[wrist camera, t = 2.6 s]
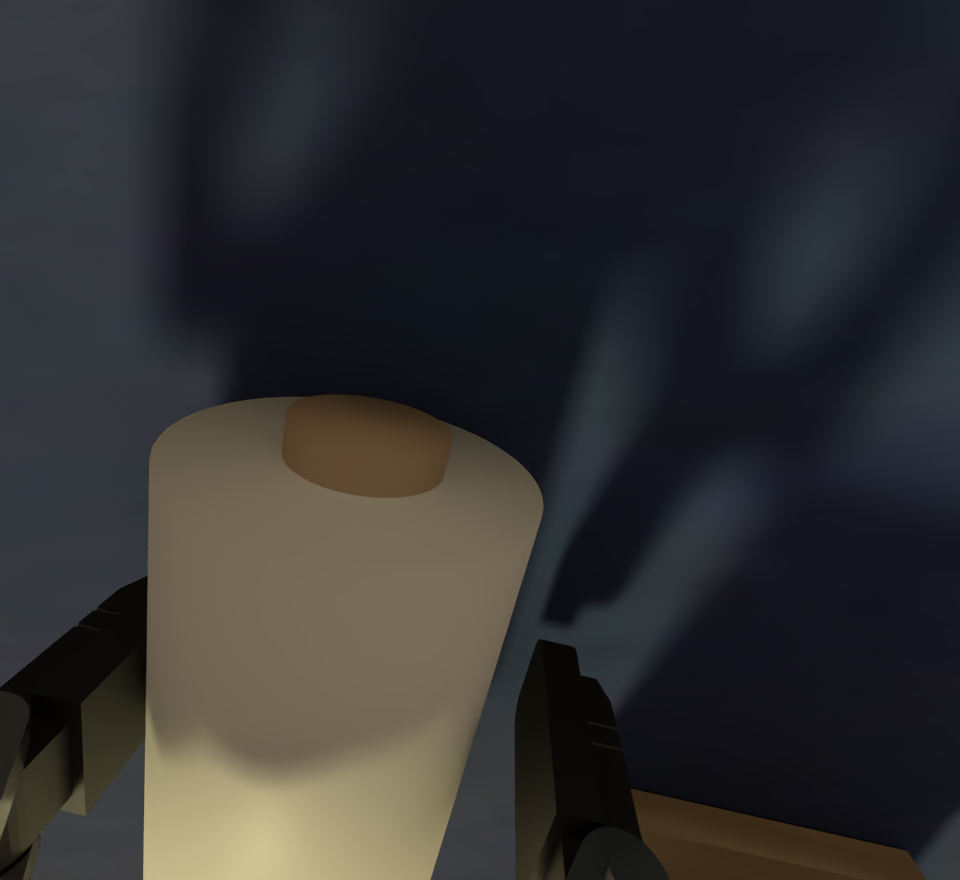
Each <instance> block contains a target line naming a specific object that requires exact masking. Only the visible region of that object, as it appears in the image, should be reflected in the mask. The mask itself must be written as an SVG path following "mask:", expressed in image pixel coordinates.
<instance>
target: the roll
mask: <svg viewBox="0 0 960 880" xmlns="http://www.w3.org/2000/svg"><path fill="white" fill-rule="evenodd" d="M543 508H544V506H543V497H542V494H541V491H540V489H539V486H538V485H537V483H536V481H535V480H534V478H533V477H532V476H531V474H530V473H529V472H528V471H527V470H526V469H525V468H524V467H523V466H522V465H521V464H520V463H519V462H518V461H517V460H515V459H514V458H513V457H512V456H510V455H509V454H507V453H506V452H505V451H503V450H502V449H500V448H499V447H497V446H495V445H494V444H492V443H490V442H488V441H487V440H485V439H483V438H481V437H479V436H477V435H475V434H473V433H470V432H468V431H466V430H464V429H462V428H459V427H456V426H454V425H451V424H449V423H446V422H443V421H440V420H438V419H436V418H435V417H433V416H431V415H429V414H427V413H425V412H422V411H420V410H418V409H415V408H412V407H409V406H406V405H403V404H400V403H396V402H392V401H388V400H383V399H378V398H372V397H365V396H357V395H341V394H331V395H318V396H311V397H274V398H261V399H251V400H244V401H238V402H232V403H227V404H223V405H218V406H214V407H211V408H208V409H205V410H202V411H199V412H196V413H194V414H191V415H189V416H187V417H185V418H183V419H181V420H179V421H178V422H176V423H174V424H173V425H171V426H170V427H168V428H167V429H166V430H165V431H164V432H163V433H162V434H161V435H160V436H159V437H158V439H157V440H156V442H155V444H154V445H153V447H152V450H151V455H150V459H149V523H148V592H147V661H146V730H145V799H144V868H143V880H430V879H431V876H432V872H433V869H434V866H435V863H436V859H437V856H438V853H439V850H440V846H441V843H442V840H443V837H444V833H445V830H446V827H447V824H448V820H449V817H450V814H451V811H452V807H453V804H454V801H455V798H456V794H457V791H458V788H459V785H460V781H461V778H462V775H463V772H464V768H465V765H466V762H467V759H468V755H469V752H470V749H471V746H472V742H473V739H474V736H475V733H476V729H477V726H478V723H479V720H480V716H481V713H482V710H483V707H484V703H485V700H486V697H487V694H488V690H489V687H490V684H491V681H492V677H493V674H494V671H495V668H496V664H497V661H498V658H499V655H500V651H501V648H502V645H503V642H504V638H505V635H506V632H507V629H508V625H509V622H510V619H511V616H512V612H513V609H514V606H515V603H516V599H517V596H518V593H519V590H520V586H521V583H522V580H523V577H524V573H525V570H526V567H527V564H528V560H529V557H530V554H531V551H532V547H533V544H534V541H535V538H536V534H537V531H538V528H539V525H540V521H541V518H542V513H543Z"/></svg>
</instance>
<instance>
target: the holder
mask: <svg viewBox="0 0 960 880" xmlns="http://www.w3.org/2000/svg"><path fill="white" fill-rule="evenodd" d="M631 793H632V797H633V802H634V806H635V810H636V815H637V819H638V824H639V828H640V832H641V836H642V839H643V843H644V844H646V845H647V846H648V847H649V848H650V849H651V851H652V852H653V853H654V854H655V855H656V857H657V858H658V859H659V860H660V862H661V864H662V865H663V867H664V869H665V870H666V873H667V875H668V877H669V879H670V880H926V878H925V877H924V875H923V874H922V872H921V871H920V869H919V868H918V866H917V865H916V863H915V862H914V860H913V859H912V857H911V856H910V854H909V853H908V851H905V850H901V849H897V848H892V847H888V846H883V845H879V844H874V843H870V842H865V841H861V840H857V839H852V838H848V837H843V836H839V835H834V834H830V833H826V832H821V831H817V830H812V829H808V828H803V827H799V826H794V825H790V824H786V823H781V822H777V821H772V820H768V819H763V818H759V817H755V816H750V815H746V814H741V813H737V812H732V811H728V810H723V809H719V808H715V807H710V806H706V805H701V804H697V803H692V802H688V801H684V800H679V799H675V798H670V797H666V796H661V795H657V794H652V793H648V792H644V791H639V790H635V789H631Z"/></svg>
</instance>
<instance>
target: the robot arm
mask: <svg viewBox="0 0 960 880" xmlns="http://www.w3.org/2000/svg"><path fill="white" fill-rule="evenodd" d="M147 592H148V576H146V577H144V578H142V579H140V580H137V581H135V582H133V583H131V584H129V585H126V586H124V587H122V588H120V589H119V590H117V591H116V592H115V593H114V594H113V595H111V596H110V597H109V598H108V599H107V600H105V601H104V602H103V603H102V604H100V605H99V606H98V608H97V610H96V611H92V612H91V613H90V614H88V615H87V616H86V617H85V618H84V619H82V620H81V621H80V622H79V624H78V626H77V627H75V626H74V627H73V628H72V629H70V630H69V631H68V632H67V633H65V634H64V635H63V636H62V637H61V638H59V639H58V640H57V641H56V642H55V643H53V644H52V645H51V646H50V647H49V648H47V649H46V650H45V651H44V652H43V653H41V654H40V655H39V656H38V657H37V658H35V659H34V660H33V661H32V662H30V663H29V664H28V665H27V666H26V667H24V668H23V669H22V670H21V671H20V672H18V673H17V674H16V675H15V676H14V677H12V678H11V679H10V680H9V681H8V682H6V683H5V684H4V685H3V686H2V687H0V880H31V878H32V874H33V870H34V866H35V863H36V859H37V855H38V851H39V847H40V841H41V838H40V833H41V832H42V831H43V829H44V828H45V827H46V826H47V825H48V823H49V822H50V821H51V820H52V819H53V817H54V816H55V815H56V814H57V812H58V811H59V810H62V811H66V812H71V813H75V814H80V815H85V816H86V815H87V813H88V812H89V811H90V809H91V808H92V807H93V806H94V804H95V803H96V802H97V800H98V799H99V798H100V796H101V795H102V794H103V793H104V791H105V790H106V789H107V787H108V786H109V785H110V783H111V782H112V781H113V780H114V778H115V777H116V776H117V774H118V773H119V772H120V771H121V769H122V768H123V767H124V765H125V764H126V763H127V761H128V760H129V759H130V758H131V756H132V755H133V754H134V752H135V751H136V750H137V748H138V747H139V746H140V745H141V743H142V742H143V741H144V739H145V730H146V661H147ZM515 835H516V880H670V879H669V877H668V875H667V873H666V870H665V869H664V867H663V865H662V864H661V862H660V860H659V859H658V858H657V857H656V855H655V854H654V853H653V852H652V851H651V849H650V848H649V847H648V846H647V845H646V844H644V843H643V839H642V836H641V832H640V828H639V824H638V819H637V815H636V810H635V806H634V802H633V797H632V793H631V788H630V784H629V780H628V775H627V771H626V766H625V762H624V758H623V753H622V752H621V744H620V740H619V736H618V731H616V722H615V718H614V714H613V709H612V705H611V701H610V700H609V698H608V697H607V695H606V694H605V692H604V690H603V689H602V687H601V686H600V684H599V683H598V681H597V679H594V678H590V677H585V676H581V675H580V670H579V664H578V658H577V653H576V649H575V648H574V647H572V646H568V645H563V644H559V643H555V642H550V641H546V640H542V639H539V640H538V642H537V644H536V646H535V649H534V652H533V655H532V658H531V661H530V664H529V667H528V670H527V673H526V676H525V679H524V682H523V685H522V688H521V691H520V695H519V698H518V703H517V709H516V716H515Z"/></svg>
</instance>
